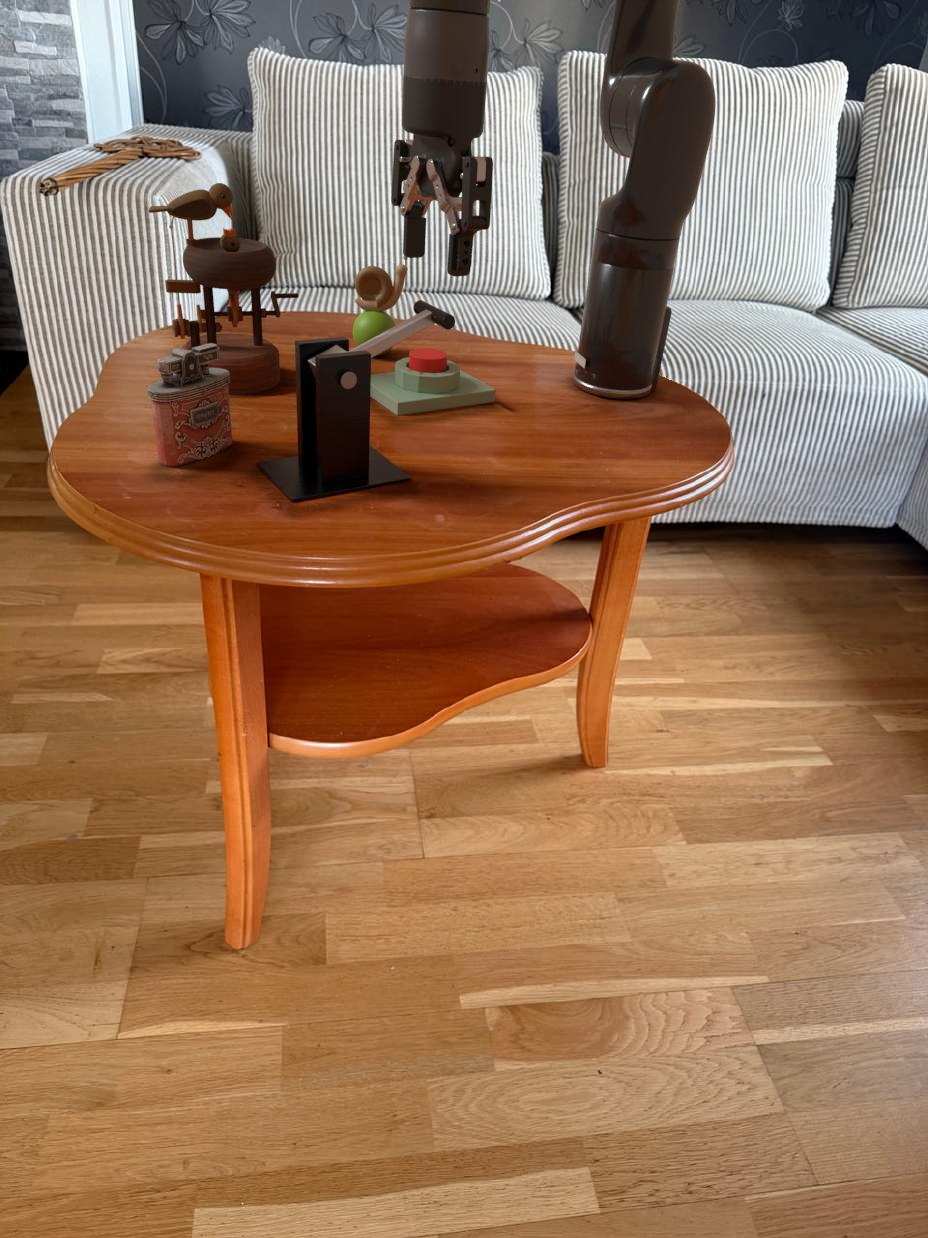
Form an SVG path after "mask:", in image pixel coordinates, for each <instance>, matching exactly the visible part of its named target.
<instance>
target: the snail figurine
mask: <svg viewBox="0 0 928 1238" xmlns="http://www.w3.org/2000/svg"><path fill="white" fill-rule="evenodd" d="M402 258H403V260H404V261H405V263H404V264H403V263H399V264H398V265H397V266H395V279H394V283H393V281H392V278H391V276H390V275H389V273H388V272H387V271H386V270H385V269H383V268H381V267H379V266H377V265H369V266H365V267H363V268H361V269H360V270H359V271H358V273H357V274H356V276H355V279H354V289H355V292H356V293H357V295H358V296H359V298H355V299H354V303H355V304H356V305H357V306H358V307H359V308H360V309H362V310H363V312H361V313H360V314H358V316H357V317H356V319H355V320H354V322H353V326H352V338H353V340H354V344H355V345H356V347H357V346H359V345H361V344H363V343H365V342H366V341H368V340H370V339H372V338H374V337H376V336H378V335H380V334H381V333H383V332H385V331H387V330H389V329H391V328H393V327H394V326H396V325H397V324H396V322H395V319H394V318H393V317H392V316H391V315H390V314H389V313H387V312H386V311H388V310H390V309H392V308H393V307H395V306H396V304H397V303H398V302H399V300H400V298H401V295H402V292H403V288H404V285H405V280H406V276H407V275H408V272H407V271H408V267H407V260H408V259H409V258H408V257H406V256H404V255H403V257H402ZM392 348H393V347H391V348H389V349H387V350H385V351H383V352H382V353H380V354H378V355H376V356H382V355H384V354H386V353H388V352H389V351H391V349H392ZM376 356H375V357H376Z"/></svg>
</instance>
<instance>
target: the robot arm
mask: <svg viewBox="0 0 928 1238" xmlns="http://www.w3.org/2000/svg"><path fill="white" fill-rule="evenodd" d="M680 3H681V0H614V8H613V14H612V21H611V27H610V34H609V40H608V46H607V52H606V57H605V63H604V71H603V76H602V82H601V89H600V95H599V111H598V112H599V113H598V114H599V125H600V130H601V135H602V136H603V139H604V142H605V143H606V145H607V146H608V148H609V149H610V150H611V151H612V152H613V153H615V154H616V155H618V156H621V157H624V158H626V159H629V160H628V166H627V171H626V174H625V179H624V182H623V184H622V186H621V187H620V189H619V190H618V191H617V192H616V193H614V194H613V195H611V196H608V197H606V198H604V199H602V201H601V202H600V204H599V207H598V211H597V216H596V217H597V218H596V225H595V227H596V228H595V230H594V237H593V243H592V251H591V257H590V264H589V272H588V273H589V274H588V278H587V285H586V293H585V299H584V306H583V312H582V321H581V325H580V332H579V339H578V347H577V350H575V352H574V358H573V360H574V362H575V367H574V370H573V373H572V374H573V375H572V384H573V385H574V386H575V387H576V388H577V389H579V390H581V391H583V392H585V393H588V394H591V395H594V396H597V397H598V396H599V397H603V398H609V399H621V400H630V399H632V400H633V399H640V398H644V397H647V396H648V395H649V394H651V392H652V391H656V390H657V387H658V382H659V377H660V373H661V367H662V363H663V358H664V352H665V349H666V342H667V337H668V333H669V328H670V324H671V323H670V322H671V317H672V313H673V311H672V308H671V307H670V306H668V302H669V296H670V292H671V286H672V280H673V276H674V271H675V265H676V259H677V256H678V255H677V254H678V250H679V244H680V240H681V235H682V231H683V226H684V223H685V221H686V219H687V218H688V216H689V215H690V213H691V211H692V209H693V207H694V204H695V202H696V200H697V196H698V192H699V189H700V188H699V187H700V184H701V181H702V177H703V176H702V175H703V172H704V168H705V165H706V164H705V163H706V160H707V156H708V152H709V148H710V144H711V139H712V135H713V130H714V124H715V118H716V107H717V106H716V90H715V86H714V82H713V80H712V78H711V76H710V74H709V72H708V71H707V70H706V69H705V68H704V67H703V66H702V65H700V64H698V63H696V62H693V61H691V60H690V61H689V60H683V59H676V58H675V59H674V49H675V48H674V47H675V46H674V45H675V38H676V32H677V31H676V30H677V22H678V14H679V9H680ZM407 7H408V10H407V19H406V27H405V34H404V42H403V43H404V44H403V45H404V46H403V69H402V70H403V73H402V74H403V75H402V105H401V108H402V109H401V127H402V129H403V130H404V131H405V132H406V133H409V134H413V139H405V138H404V139H396V140H395V141H394V145H393V160H392V180H391V197H390V201H391V204H392V206H393V207H398V208H399V213H400V215H401V216H402V217H403V236H402V238H403V239H402V242H403V243H402V255H403V256H406V257H408V258H407V259H416V258H417V259H419V258H423V257H424V256H425V254H426V239H427V238H426V237H427V233H426V232H427V217H424V216H426V215H427V212H428V209H429V208H430V205H431V203H432V202H433V201H436V202H437V204H438V207H439V209H440V211H442V212H443V213H444V214H445V215H446V216H445V217H446V220H447V223H448V226H449V230H450V233H449V234H448V235H449V236H448V250H447V265H446V266H447V267H446V272H447V274H448V275H450V276H451V277H467V276H469V274H470V273H471V268H472V263H473V262H472V261H473V260H472V259H473V250H474V249H473V247H474V237H475V235H476V234H477V233H478V232H480V231H487V230H489V228H490V226H491V215H492V193H493V177H494V176H493V173H494V160H493V158H492V157H491V156H481V155H480V156H474V155H473V151H472V150H473V149H472V142H473V141H474V139H478V138H480V137H482V135H483V133H484V127H485V126H484V125H485V114H486V112H485V111H486V101H487V100H486V99H487V87H488V75H489V74H488V73H489V62H490V61H489V59H490V17H489V16H490V12H491V11H490V10H491V0H408V6H407ZM404 181H405V183H404ZM403 183H404V185H403ZM402 191H403V192H402ZM460 195H461V196H460ZM477 201H479V204H478V205H479V207H478V209H479V210H478V215H477V214H476V213H477V212H476V211H475V205H477ZM458 212H460V216H459V213H458Z"/></svg>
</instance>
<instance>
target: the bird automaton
mask: <svg viewBox="0 0 928 1238" xmlns="http://www.w3.org/2000/svg"><path fill="white" fill-rule="evenodd" d="M233 201H234V195H233V192H232V190H231V188H230V187H229V186H228V185H227V184H225V183H222V182H217V183H214V184H212V185H211V186H210V188H209V189H208V190H207V189H202V188H200V189H194V190H191V191H188V192H185V193H183V194H181V195H178V196H177V197H176V198H174V199H172V200H171V201H170V202H169V203H168V204H167V205H151V206H149V208H148V209H147V211H148V213H149V214H152V213H161V212H162V213H163V212H166V213H168V215H169V216H171V217H172V219H171V223H170V225H169V226H168V228H169V229H170V234H171V243H172V244H171V245H172V255H173V264H174V273H175V279H164V283H165V292H166V293H168V294H177V305H176V309H177V318H174V319H172V331H173V336H174V338H178V337H180V340H185V337H188V338H190V339H188V341H186V342H185V344H184V345H183V346H182V347H181V349H184V350H187V351H190V350H192V348H194V347H198V346H201V345H205V344H209V343H213V344H216V345H217V347H219V351H220V360H217V361H214V362H210V363H207V364H208V365H209V368H222V369H225V370H228V371H229V373H230V382H229V383H228V389H229V395H248V394H254V393H255V394H256V393H260V392H265V391H267V390H268V391H269V390H271V389H273V388H275V387H276V386H277V385H278V384H279V383H280V381H281V369H280V368H281V367H280V366H281V365H280V362H281V361H280V350H279V348H278V347H277V346H275V344H273V343H272V342H271V341H269V340H268V339H265V338H263V321H262V320H263V319H267V316H275V317H276V318H281V309H280V306H279V301H278V299H298V298H299V297H300V295H299V293H297V292H296V293H295V292H294V293H293V292H291V293H290V292H288V293H286V292H285V293H283V292H281V293H276V291H274V290H271V291H270V299H271V303H272V307H273V310H267V309H266V307H265V308H264V307H262V300H261V299H262V298H261V287H264V286H266V285H268V284H269V283H270V282H271V281H272V280H273V278H274V277H275V274H276V271H277V261H276V260H277V259H276V256H275V253H274V252H273V251H272V248H271V247H270V246H268V245H267V243H264V242H262V241H258V240H254V239H251V238H250V239H249V238H244V237H243V238H242V237H241V238H240V237H237V236H236V229H235V228H233V227H230V228H229V229H227V228H224V227H222V235H221V236H220V237H219V236H215V237H214V236H213V237H203V238H202V237H201V238H194V237H195V236H194V226H193V221H195V222H196V221H197V222H198V221H209V220H211V219H212V218H213V217H215V215H216V214H217V211H218V210H221V211H223V213H224V214H225V215H226V216H227V217H228V218H229V219H230V220H231V221H232V222H234V221H235V217H234V214H233V208H232V204H233ZM175 218H177V219H180V220H184V221H186V224H187V235H188V236H187V237H188V238H186V239H185V243H186V247H185V248H184V250H183V254H182V264H183V268H184V270H185V273H186V274H187V275H188V277H189V278H190V279H178V273H177V272H178V271H177V263H176V253H175V242H174V232H173V229H174V226H173V223H174V219H175ZM201 286H202V288H201ZM214 289H218V290H226V292H227V294H228V305H227V306H226V309H225V310H226V311H215V302H214V301H215V300H214ZM240 290H250V300H251V301H250V302H251V310H243V307H242V305H240V297H239V296H240ZM202 292H203V293H202ZM201 293H202V295H203V305H204V307H203V308H204V309H203V308H201V305H200V304H196V306H195V307H196V308H195V309H196V318H197V320H189V319H186V318H184V316H183V308H182V304H181V303H180V295H179V294H194V295H195V294H201ZM216 317H217V318H218V317H219V318H221V317H226V319H227V321H228V322H230V323H231V326H232V328H238V324H239V323H240V322H243V321H244V317H251V318H252V319H251V320H252V321H251V322H252V335H251V334H245V333H244V334H243V333H221V332H222V330H223V325H222V324H221V322H216ZM203 320H205V322H203ZM204 333H206V334H204ZM201 334H204V335H201Z"/></svg>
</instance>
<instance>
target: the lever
mask: <svg viewBox="0 0 928 1238" xmlns="http://www.w3.org/2000/svg"><path fill="white" fill-rule="evenodd" d="M413 312H414V313H415V315H412V316H411V317H409V318H408V319H406V320H404V321H402V322H400V323H398V324H395V325H396V326H394V327H393V328H391V329H389V330H387V331H385V332H383V333H381V334H380V335H378V336H376V337H374V338H372V339H370V340H368V341H366V342H365V343H363V344H361V345H359V346H357V345H356V346H355V347H354V348H353V347H352V348H351V349H349V351H348V352H353V351H363V350H366V351H368V352H369V353H371V359H372V358H374V357H376V355H378V354H380V353H382V352H383V351H385V350H387V349H389V348H391V347H392V348H393V347H394V346H397V345H398V344H400V343H402V342H404V341H405V340H407V339H410V338H411V337H413V336H415V335H416V334H418V333H420V332H422V331H424V330H426V329H428V328H429V327H431V326H433V325H437V326H439V327H440V328H442V329H445V330H447V331H449V330H451V329H453V328H454V327H455V325H456V318H455V316H454V315H452V314H450V313H448V312H446V311H445V310H443V309H441V308H438V307H437V306H435V305H432V304H431V303H428V302H426V301H424V300H422V299H419V300H416V301H415V302H414V304H413ZM392 348H391V349H392ZM343 352H347V351H345V350H344V349H342V348H341V347H339V346H338V345H335V346H333V347H332V348H330V349H328V350H326V351H324V352H322V353H320V354H318V355H323V354H333V353H343ZM378 356H379V355H378ZM308 363H309V365H310V368H311V370H312V372H313V375H314V377H315V380H316V364H315V357H313V358H311V359H309V360H308Z"/></svg>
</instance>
